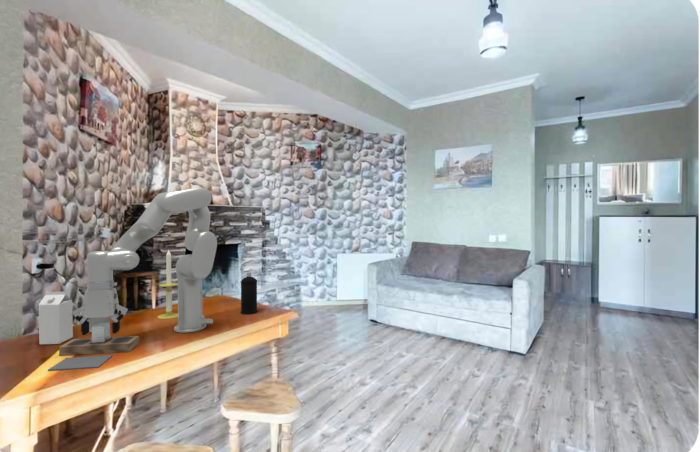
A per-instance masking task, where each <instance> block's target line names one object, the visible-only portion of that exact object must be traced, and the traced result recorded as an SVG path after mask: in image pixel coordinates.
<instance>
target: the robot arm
mask: <svg viewBox="0 0 700 452" xmlns="http://www.w3.org/2000/svg"><path fill="white" fill-rule="evenodd" d="M212 197H213V196H212V193H211V192H210V190H208V189H207V188H205V187H204V186H202V187H201V186H199V187H189V188H185V189H183V190H176V191H165V192H160V193H158V194H157V195H156V196H155V197H154V198H153V199H152V201H150V203H149V204H148V206H147V207H146V208H145V210H144V211H143V213H142V214H141V215H140V216H139V218H138V219H137V220H136V221H135V223H134V224H132V226H131V227H130V228H129V229H128V230H127V231H125V232H124V233H123V234H122V236H121V237H120V238H119V239H118V240H117V242H116V243H115V245H114V246H113V247H112V249H111V250H110V251H109V250H95V251H90V252H88V253H87V256H86V281H87V282H86V286H87V287H86V288H87V289H86V290H85V291H84V296H83V299H82V306H81V307H79V308H77V309H74V310H72V316H74V318H75V320H76V321H77V322H78V323H79V324H80V331H81V335H82V336H85V335H87V334H90V333H89V321H88V319H89V318H109V319H111V320H112V321H113V322H112V325H111V329H112V335H114V334H115V335H116V333H118V332H119V331H120V329H121V327H120V326H121V323H120V321H122V319H124V317H125V316H126V314H127V312H128V310H129V309H128V308H126V307H124V306H122V305H120V304H119V303H120V302H119V298H118V297H119V295H118V292H117V288H116V286H118V282H117V281H116V282H115V280H114V271H130V270H133V269H134V268H136V267H137V266H138V265H139V263H140V256H139V254H138V253H137V250H138V249H139V248H140V247H141V246H142V245H143V244H144V243H145V242H147V241H148V240H150V239H151V238H153V237H155V236H156V235H158V234H159V233H160V232H161V230H162V228H163V227H164V226H165V224H166V223H167V221H168V219H169V218H170V216H171V215H172V214H180V213H185V212H188V216H189V218H188V219H189V220H188V224H187V228H186V232H185V236H184V237H185V238H184V241H183V242H184V243H183V244H184V246H185V249H187V250H188V251H190V252H191V253H190V254H188V253H187V254H185V255H182V256H181V257H179V258H178V260H177V261H176V263H175V274H176V280H177V283H178V285H177V313H178V317H177V324H176V325H175V326H174V327H173V331H174V332H176V333H181V334H182V333H184V334H185V333H194V332H199V331H202V330H204V329H205V328H207V324H208V325H211V324H214V320H213V319H212V318H210V317H208V318H206V317H205V315H203V280H204V279H205V278H207V277H209V275H210V274H211V272H212V270H213V267H214V262H215V257H216V254H217V247H218V239H217V237H216V235H215V234H214V232H212V231H210V227H211V226H210V225H211V212H210V209H209V207H208V206H209V205H210V204H211V202H212ZM119 311H120V312H119ZM81 312H82V314H81ZM119 313H120V315H119ZM87 321H88V322H87Z"/></svg>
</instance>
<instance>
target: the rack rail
mask: <svg viewBox="0 0 700 452" xmlns="http://www.w3.org/2000/svg"><path fill="white" fill-rule="evenodd" d="M138 345H140V335H128V336H110V340H109V341H108V342H107V343H103V344H92V337H89V338H72V339H71V340H68V341H67V342H66V343H63V344H62V345H61V346H59V347H58V348H59V349H58V352H59V353H58V356H59V357H60V356H61V357H62V356H63V357H65V356H64V355H66V356H79V355H78V354H83V355H98V354H111V353H112V354H114V353H115V354H116V353H130V352H131V351H132V350H134V349H135V348H136V347H137V346H138ZM76 354H77V355H76Z"/></svg>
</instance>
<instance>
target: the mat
mask: <svg viewBox="0 0 700 452" xmlns="http://www.w3.org/2000/svg"><path fill="white" fill-rule="evenodd" d="M112 357H113V355H112V354H109V355H94V356H93V355H91V356H78V357H77V356H75V357H65V358H64V359H62V360H61V361H59V362H58V363H56V364H54V365H52V366H51V367H50V368H48V369H47V371H48V372H52V371H55V372H56V371H67V370H82V369H83V370H84V369H98V368H100V367H101V366H102V365H104V364H105V363H107V361H108V360H110V359H111V358H112Z"/></svg>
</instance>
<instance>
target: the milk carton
mask: <svg viewBox="0 0 700 452" xmlns="http://www.w3.org/2000/svg"><path fill="white" fill-rule="evenodd" d="M72 312H73V299H72V298H71V297H69V296H68V294H67V291H45V295H44V297H43V298H42V299H41V301H40V302H39V304H38V332H39V333H38V338H39V339H38V341H39V342H38V343H39V345H60V344H62V343H64V342H66V341H69V340H70V339H73V337H74V333H73V332H74V331H73V327H74V326H73V323H74V321H73V320H74V319H73V316H74V315H73V313H72Z"/></svg>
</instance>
